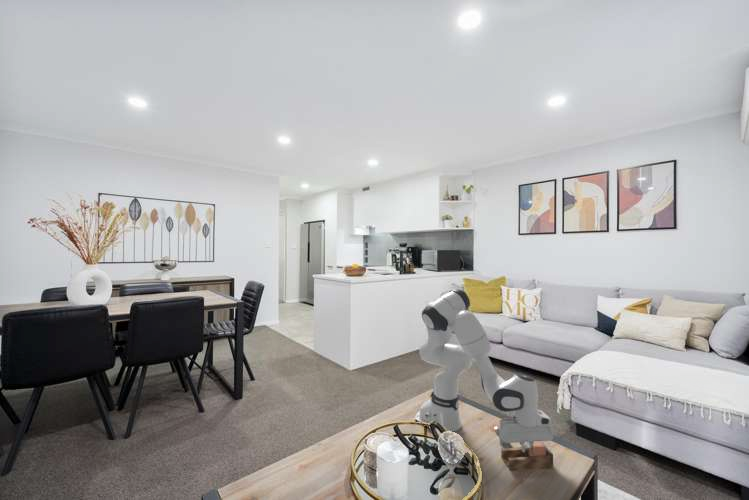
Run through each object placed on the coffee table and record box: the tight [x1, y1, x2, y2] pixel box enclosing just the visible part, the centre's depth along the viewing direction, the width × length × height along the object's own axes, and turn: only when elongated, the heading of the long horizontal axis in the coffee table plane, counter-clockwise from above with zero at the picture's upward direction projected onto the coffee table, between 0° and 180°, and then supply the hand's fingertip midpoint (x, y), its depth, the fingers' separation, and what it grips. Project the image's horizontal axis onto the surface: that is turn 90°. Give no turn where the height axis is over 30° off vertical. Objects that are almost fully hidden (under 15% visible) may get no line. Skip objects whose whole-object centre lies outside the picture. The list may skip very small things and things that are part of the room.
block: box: [528, 441, 547, 457], centre depth 121 cm, size 5×3×6 cm
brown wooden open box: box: [500, 442, 554, 472], centre depth 121 cm, size 17×7×5 cm, turn 93°
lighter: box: [493, 425, 511, 446], centre depth 133 cm, size 7×2×8 cm, turn 107°
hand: (526, 451), depth 121 cm, fingers closed
